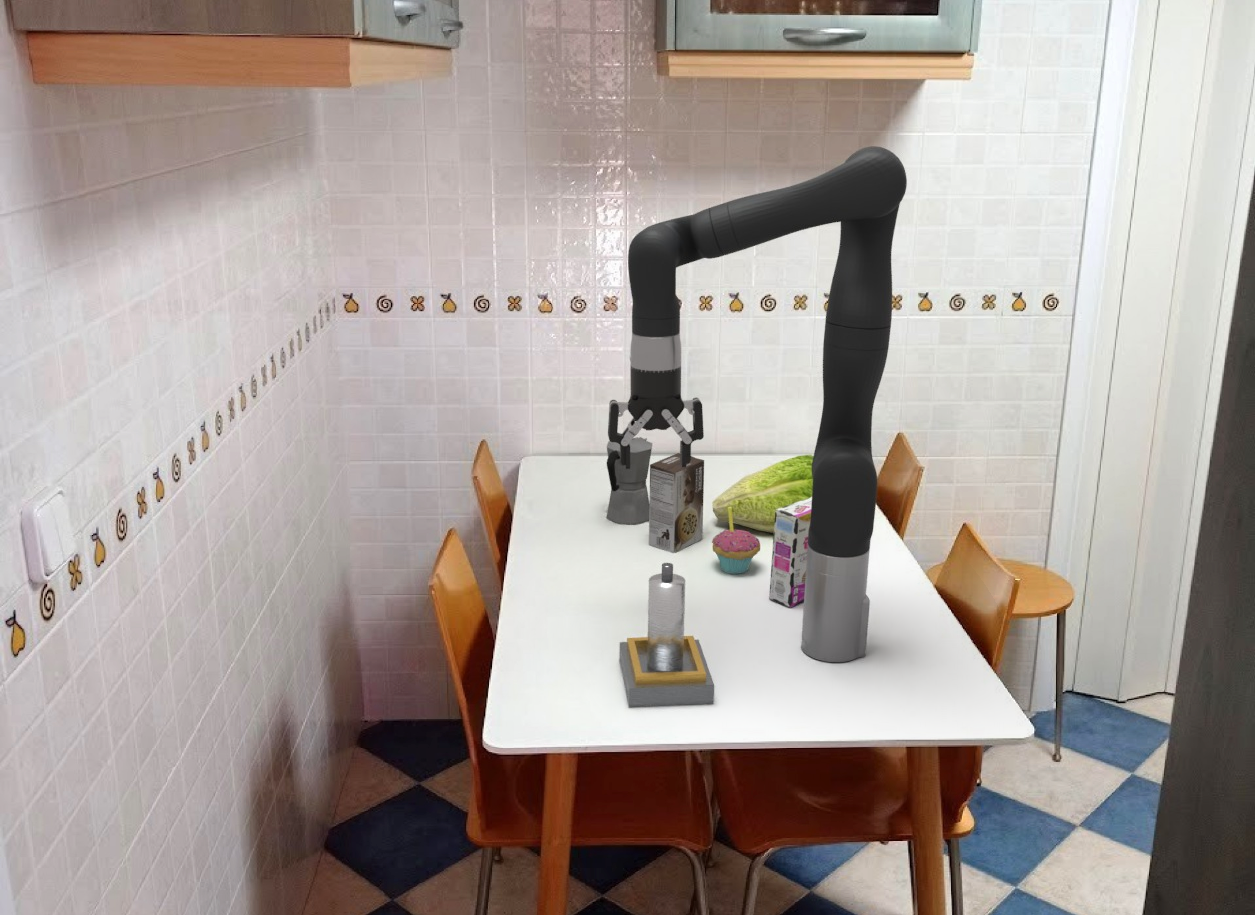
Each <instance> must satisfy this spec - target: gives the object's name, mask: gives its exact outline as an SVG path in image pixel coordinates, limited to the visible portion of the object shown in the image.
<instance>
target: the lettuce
mask: <svg viewBox="0 0 1255 915" xmlns="http://www.w3.org/2000/svg"><path fill="white" fill-rule="evenodd" d="M813 456H814V455H812V454H804V455H797V456H794V457H790V458H788V459H785V460H781V461H778V462H776V463H774V464H772V465H770V466H767V467H766V468H763V469H761V470H759V471H756V472H754V473H751V474H748V475H745V476H744V477H742V478H741V479H740V480H738V481H737V482H736V483H734V484H733V485H731V486H730V487H729V488H727V489H726V490H725V491H723V492H722V493H721V494H719V495H718V496H717V497H715V498H714V499H713V500H712V512H713V514H714V516H715V518H716V519H717V520H718V521H720V522H725V523H729V514H728V507H729V504H728V503H730V507H732V518H733V524H737V525H740V526H743V527H744V528H745V527H746V528H750V529H753V530H756V531H761V532H764V533H766V532H767V533H770V534H774V523H775V510H776V509H779V508H782V507H784V506H787V505H790V504H793V503H796V502H799V501H801V500H804V499H807V498H810V497H812V489H813V477H812V461H813Z"/></svg>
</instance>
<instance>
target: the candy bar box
mask: <svg viewBox="0 0 1255 915" xmlns="http://www.w3.org/2000/svg"><path fill="white" fill-rule="evenodd" d="M811 505H812V497H810V498H807V499H804V500H801V501H799V502H796V503H793V504H790V505H787V506H784V507H782V508H779V509H776V510H775V523H774V533H773V542H772V556H771V568H770V579H769V580H770V581H769V582H770V584H769V596H768V599H769V600H770V601H773V602H775V603H778V604H779V605H782V606H784V607H787V608H793V607H795V606H797V605H799V604H801V603H804V594H805V578H806V563H807V547H808V531H809V526H810V520H811Z"/></svg>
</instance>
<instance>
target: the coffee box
mask: <svg viewBox="0 0 1255 915" xmlns="http://www.w3.org/2000/svg"><path fill="white" fill-rule="evenodd" d="M704 482H705V459H701V458H698V457H695V456H692V455H691V461H690V463H689V464H686V467H681V465H680V452H678V453H674V454H673V455H670V456H668V457H665V458H662V459H659V460H658V461H656V462H653V463H651V464H650V463H649V505H650V506H649V520H648V545H649V546H651V547H654V548H657V549H660V550H664V551H666V552H669V553H672V554H676V553H677V552H680V551H681V550H684V549H686V548H687V547H689V546H691V545H693V544H695V543H697V542H699V541H701V540H703V530H704V529H703V527H704V524H703V523H704V493H705V492H704V487H705V486H704V485H705V483H704Z"/></svg>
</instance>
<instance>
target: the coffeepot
mask: <svg viewBox="0 0 1255 915" xmlns="http://www.w3.org/2000/svg"><path fill="white" fill-rule="evenodd" d="M647 440H648V438H644V437H638V436H637V437H636V436H635V437H634V438H633V439H632V440H631V442H630V443H629V444H630V469H625V465H622V464H621V461H620V444H618V443H616V442H610V440H608V442H607V445H606V451H607V453H606V454H607V460H606V468H607V472H608V477H609V478H608V479H609V484H610V488H611V489H610V494H609V495H610V496H609V499H608V500H609V501H608V506H607V511H606V512H607V513H606V519H607V520H608V521H610V522H612V523H615V524H618V525H627V526H630V525H631V526H632V525H633V526H634V525H640V524H644V523H647V522H649V506H650V497H649V492H648V486H647V479H648V474H649V470H650V462H651V455H652V450H653V442H650V441H647Z"/></svg>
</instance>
